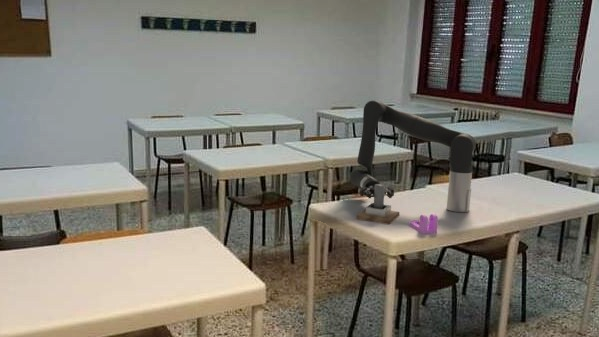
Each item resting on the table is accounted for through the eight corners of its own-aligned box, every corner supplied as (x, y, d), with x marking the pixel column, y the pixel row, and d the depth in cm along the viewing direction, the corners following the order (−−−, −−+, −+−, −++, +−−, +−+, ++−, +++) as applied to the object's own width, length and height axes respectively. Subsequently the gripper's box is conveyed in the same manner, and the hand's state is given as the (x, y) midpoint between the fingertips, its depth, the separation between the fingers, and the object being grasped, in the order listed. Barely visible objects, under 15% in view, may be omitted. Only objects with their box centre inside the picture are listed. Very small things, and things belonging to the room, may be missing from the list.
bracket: (436, 233, 205) (438, 215, 203) (423, 234, 203) (425, 216, 202) (419, 223, 217) (420, 206, 215) (406, 223, 215) (408, 207, 214)
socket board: (399, 215, 226) (400, 204, 225) (389, 224, 214) (390, 213, 213) (367, 210, 232) (367, 200, 231) (356, 218, 219) (356, 208, 218)
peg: (384, 212, 223) (385, 184, 221) (381, 215, 220) (383, 186, 217) (375, 211, 225) (376, 183, 223) (372, 213, 222) (373, 185, 219)
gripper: (354, 177, 233) (363, 187, 217) (386, 177, 235) (398, 186, 219) (354, 194, 234) (363, 205, 219) (385, 194, 236) (397, 204, 221)
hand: (380, 195), depth 219 cm, fingers open, 8 cm apart
